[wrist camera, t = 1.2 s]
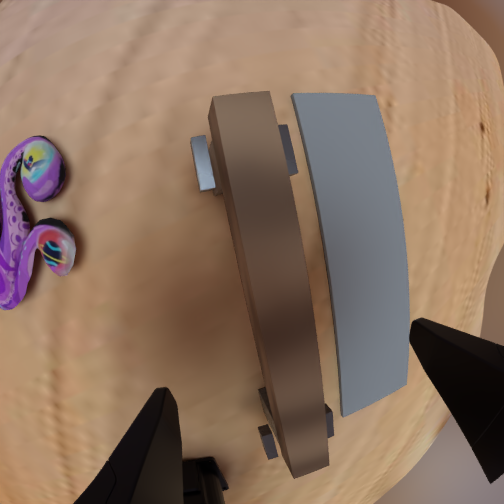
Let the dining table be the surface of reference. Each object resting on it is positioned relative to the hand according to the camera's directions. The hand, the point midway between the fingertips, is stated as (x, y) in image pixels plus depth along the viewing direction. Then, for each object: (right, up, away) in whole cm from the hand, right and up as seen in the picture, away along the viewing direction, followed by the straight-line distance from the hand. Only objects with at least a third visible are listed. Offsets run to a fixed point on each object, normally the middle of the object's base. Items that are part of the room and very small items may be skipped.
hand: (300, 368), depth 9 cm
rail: (0, 0, +9) cm, 9 cm away
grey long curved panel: (+9, +3, +16) cm, 19 cm away
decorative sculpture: (-25, +6, +8) cm, 27 cm away
